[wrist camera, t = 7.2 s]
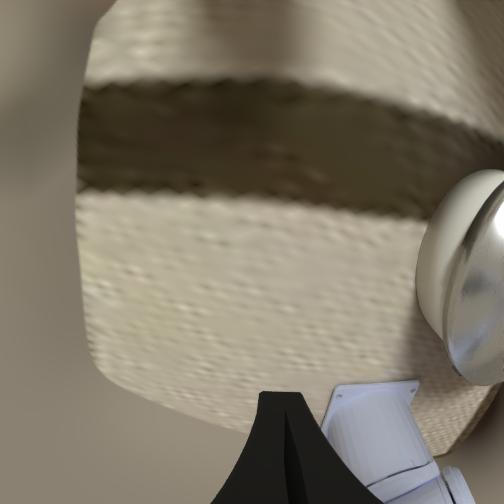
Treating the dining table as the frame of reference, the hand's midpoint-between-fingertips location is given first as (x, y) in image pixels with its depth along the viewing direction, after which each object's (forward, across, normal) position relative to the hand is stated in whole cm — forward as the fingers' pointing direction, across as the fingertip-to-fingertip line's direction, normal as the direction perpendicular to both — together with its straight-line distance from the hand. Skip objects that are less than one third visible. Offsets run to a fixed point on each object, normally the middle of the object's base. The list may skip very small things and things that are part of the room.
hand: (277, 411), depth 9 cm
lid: (+6, -17, -3) cm, 18 cm away
